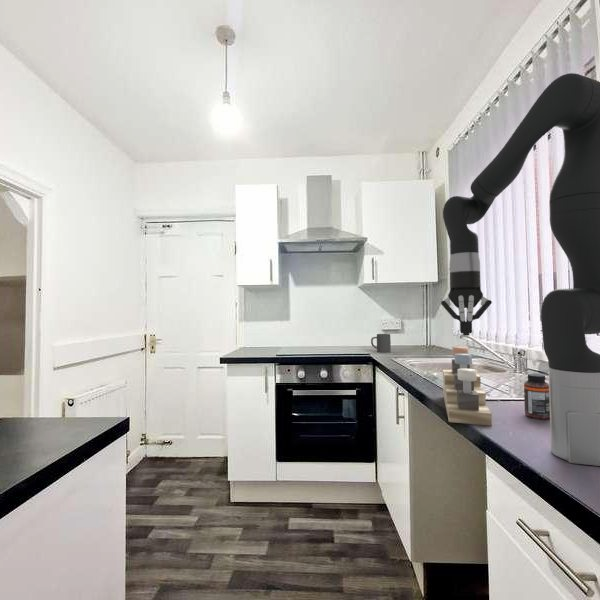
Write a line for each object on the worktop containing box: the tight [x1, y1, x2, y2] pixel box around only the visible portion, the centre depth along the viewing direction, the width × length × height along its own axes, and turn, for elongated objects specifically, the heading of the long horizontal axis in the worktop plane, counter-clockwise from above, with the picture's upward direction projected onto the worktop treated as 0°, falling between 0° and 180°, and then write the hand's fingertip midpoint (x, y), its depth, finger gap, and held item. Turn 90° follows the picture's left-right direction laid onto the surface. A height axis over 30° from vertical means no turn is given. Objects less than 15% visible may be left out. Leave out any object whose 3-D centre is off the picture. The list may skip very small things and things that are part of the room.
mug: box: [370, 333, 392, 354], centre depth 247 cm, size 14×9×12 cm
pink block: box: [451, 346, 469, 357], centre depth 115 cm, size 5×5×7 cm
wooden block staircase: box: [442, 358, 493, 426], centre depth 106 cm, size 28×10×13 cm, turn 161°
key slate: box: [454, 353, 473, 369], centre depth 106 cm, size 5×5×7 cm
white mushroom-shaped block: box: [457, 368, 477, 393], centre depth 98 cm, size 5×5×7 cm
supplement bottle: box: [523, 372, 550, 420], centre depth 99 cm, size 6×6×11 cm
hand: (466, 335), depth 98 cm, fingers closed
